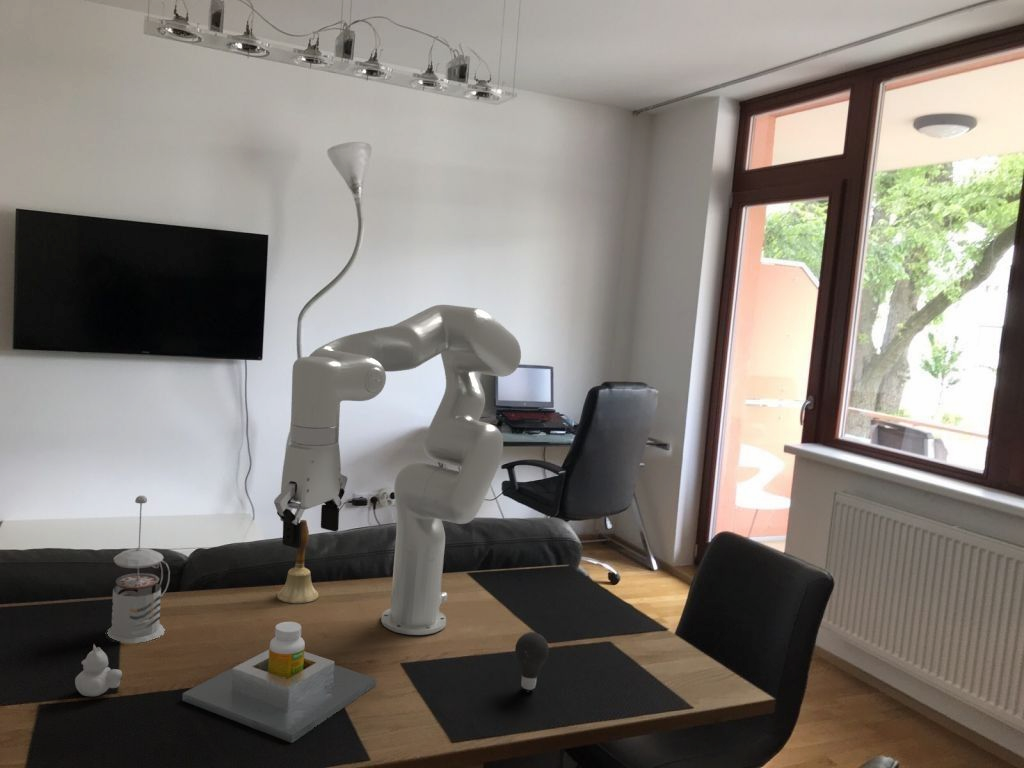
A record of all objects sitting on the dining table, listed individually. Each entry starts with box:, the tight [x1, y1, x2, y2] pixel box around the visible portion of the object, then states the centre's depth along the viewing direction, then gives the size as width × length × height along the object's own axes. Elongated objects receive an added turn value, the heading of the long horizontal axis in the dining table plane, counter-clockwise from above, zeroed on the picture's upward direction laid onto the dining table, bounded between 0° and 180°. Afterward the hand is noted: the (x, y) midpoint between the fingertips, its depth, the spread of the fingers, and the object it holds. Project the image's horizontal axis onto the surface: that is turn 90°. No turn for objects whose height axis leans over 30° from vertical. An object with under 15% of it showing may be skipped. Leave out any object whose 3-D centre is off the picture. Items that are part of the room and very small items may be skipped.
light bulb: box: [514, 631, 550, 691], centre depth 142 cm, size 6×6×10 cm
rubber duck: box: [74, 644, 123, 697], centre depth 128 cm, size 5×7×8 cm
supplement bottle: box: [268, 621, 306, 679], centre depth 133 cm, size 5×5×10 cm
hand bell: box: [276, 519, 319, 604], centre depth 173 cm, size 8×8×16 cm
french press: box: [106, 495, 171, 643], centre depth 150 cm, size 10×12×25 cm
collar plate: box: [182, 648, 377, 744], centre depth 134 cm, size 21×21×5 cm
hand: (311, 537), depth 137 cm, fingers open, 9 cm apart
